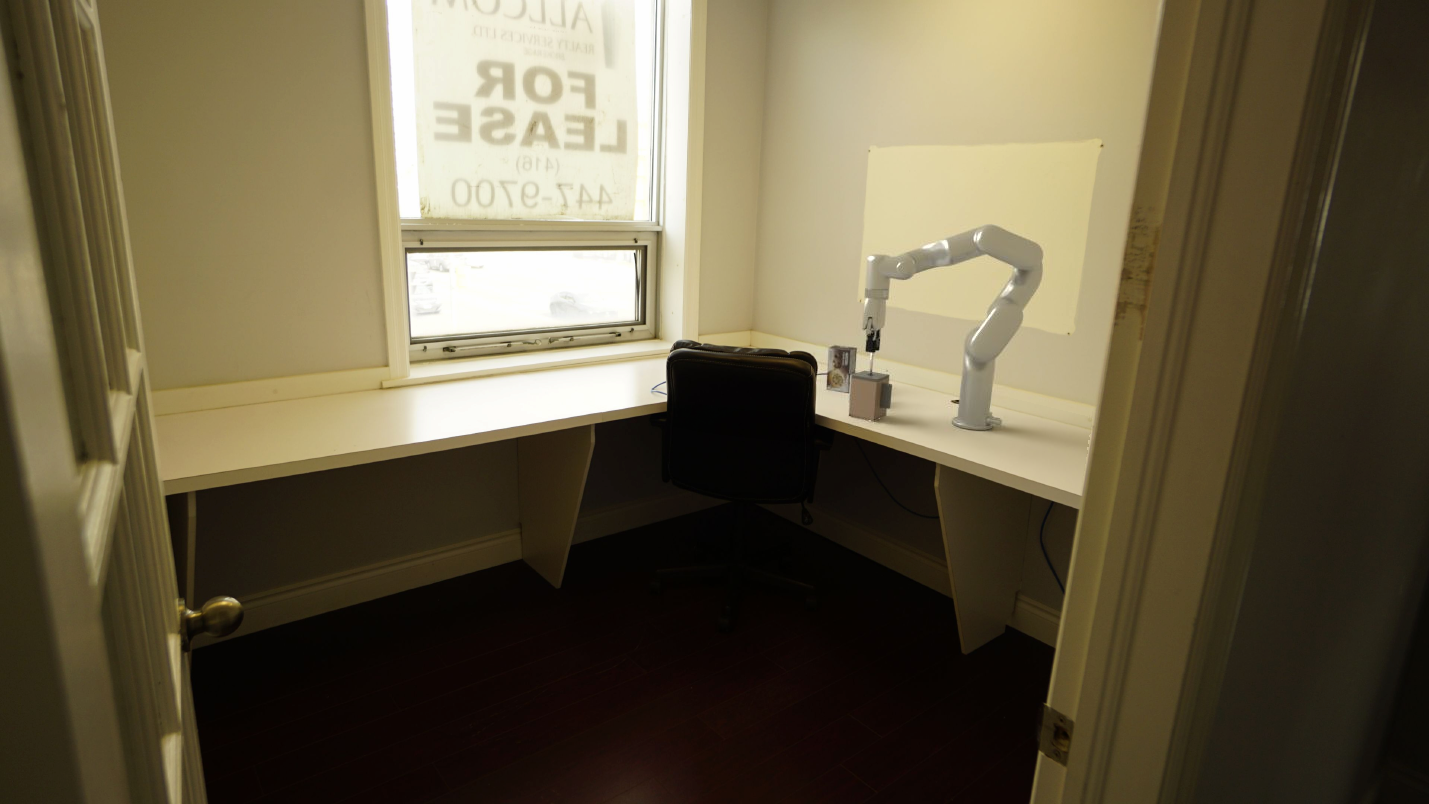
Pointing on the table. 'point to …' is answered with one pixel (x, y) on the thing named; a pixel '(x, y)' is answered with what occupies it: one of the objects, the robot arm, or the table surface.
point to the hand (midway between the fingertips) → (872, 350)
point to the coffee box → (840, 367)
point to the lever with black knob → (872, 359)
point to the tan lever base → (869, 395)
